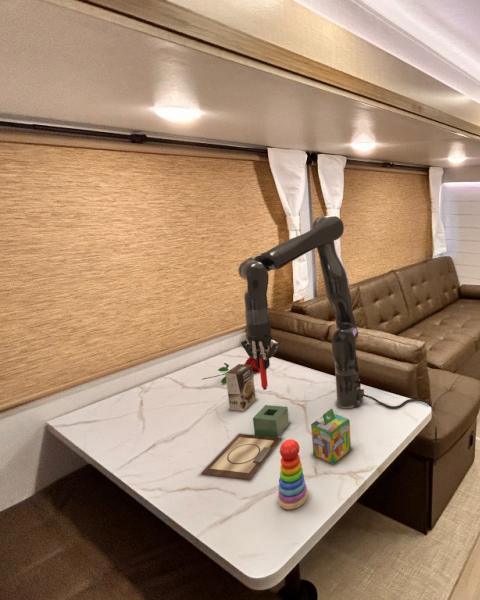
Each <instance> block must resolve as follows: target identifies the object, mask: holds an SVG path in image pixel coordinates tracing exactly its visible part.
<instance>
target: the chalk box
mask: <svg viewBox="0 0 480 600" xmlns="http://www.w3.org/2000/svg"><path fill="white" fill-rule="evenodd" d="M350 422H351V419H349V418H347V417H344V416H342V415H340V414H337V413H335V411H334V409H333V408H330V409H328V410H327V411H326V412H324V413H323V414H322V416H320V417H319V418H318V419H316V420H314V421H313V422H312V423H310V427H311V429H310V430H311V441H312V453H313V456H315V457H317V458H319V459H321V460H323V461H325V462H327V463H330V464H332V465H335V464H336V463H337V462H338V461H339V460H341V458H343V457H344V456H345V455H346V454H347V453H348V452H349V451H351V450H352V446H351V445H352V444H351V443H352V442H351V423H350Z"/></svg>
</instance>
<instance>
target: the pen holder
mask: <svg viewBox="0 0 480 600" xmlns="http://www.w3.org/2000/svg"><path fill="white" fill-rule="evenodd" d="M252 422H253V423H252V424H253V431H254V435H257V436H267V437H277V438H280V436H281V435H282V434H283V432H284V430H286V428H287V427H288V426H289V425H290V418H289V408H288V406H281V405H271V404H265V405H264V406H263V407H262V408H261V409H260V410H258V412H257V413H256V414H255V415H254V416H253V417H252Z"/></svg>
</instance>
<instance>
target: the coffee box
mask: <svg viewBox="0 0 480 600" xmlns="http://www.w3.org/2000/svg"><path fill="white" fill-rule="evenodd" d="M224 374H225V375H224V376H226V383H225V384H226V389H227V398H228V405H229V410H230V411H237V412H244V411H245V410H247V408H249V407H250V406H251V405H253V404H254V403H255V402H256V401H257V397H256V395H257V394H256V390H255V389H256V387H255V379H254V372H253V370H252V365H245V363H244V364H242V363H241V364H240V363H238V364H236V365H235V366H234V367H232V368H231V369H228V371H226V372H224Z"/></svg>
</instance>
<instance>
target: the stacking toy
mask: <svg viewBox="0 0 480 600" xmlns="http://www.w3.org/2000/svg"><path fill="white" fill-rule="evenodd" d="M299 453H300V444H299V442H298V441H297V440H296V439H293V438H290V439H289V438H288V439H285V440H284V441H283V442H282V443H281V445H280V447H279V454H280V456H281V457H280V468H279V469H280V472H279V478H278V493H277V495H278V496H277V502H278V504H279V506H280V507H281V508H283V509H284V510H285V509H286V510H294V509H297V508H299V507H301V506H302V505H304V503H305V502H306V501H307V500H308V496H309V494H308V487H307V483H306V479H305V474H304V469H303V465H302V463H303V462H302V461H301V457H300V455H299Z"/></svg>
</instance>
